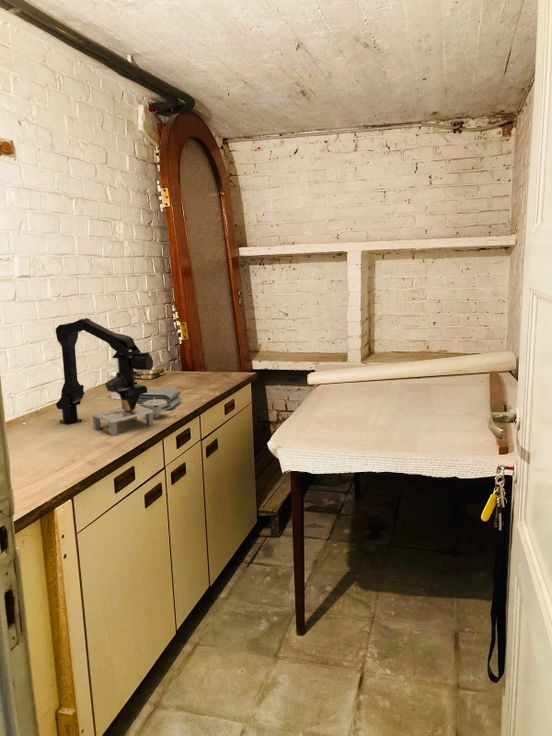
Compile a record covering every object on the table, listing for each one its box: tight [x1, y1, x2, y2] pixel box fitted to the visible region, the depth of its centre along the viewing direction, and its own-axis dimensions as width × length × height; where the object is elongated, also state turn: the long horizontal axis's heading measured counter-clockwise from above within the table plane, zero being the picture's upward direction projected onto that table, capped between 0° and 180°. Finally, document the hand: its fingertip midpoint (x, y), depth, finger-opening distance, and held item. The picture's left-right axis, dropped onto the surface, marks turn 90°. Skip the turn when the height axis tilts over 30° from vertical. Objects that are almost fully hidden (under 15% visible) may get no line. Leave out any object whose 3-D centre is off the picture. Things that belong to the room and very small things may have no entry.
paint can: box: [106, 358, 121, 400], centre depth 267 cm, size 10×9×20 cm
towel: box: [136, 387, 181, 411], centre depth 250 cm, size 15×18×8 cm
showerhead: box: [143, 398, 167, 419], centre depth 232 cm, size 9×7×10 cm
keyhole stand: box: [92, 405, 155, 437], centre depth 220 cm, size 14×18×6 cm
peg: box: [120, 398, 138, 420], centre depth 221 cm, size 4×4×8 cm
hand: (129, 408), depth 221 cm, fingers closed on peg, 4 cm apart
